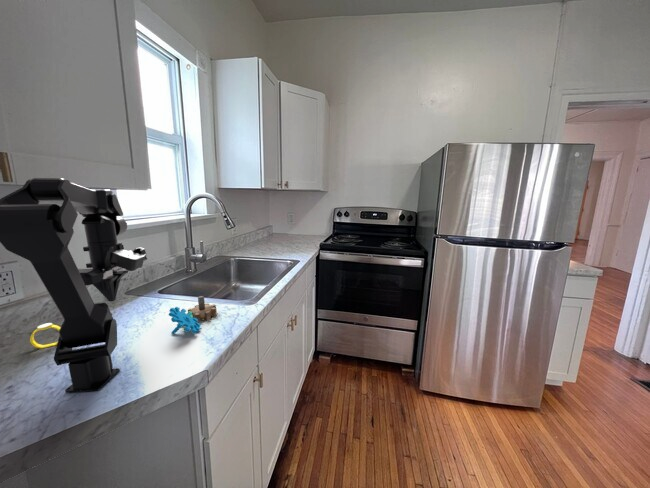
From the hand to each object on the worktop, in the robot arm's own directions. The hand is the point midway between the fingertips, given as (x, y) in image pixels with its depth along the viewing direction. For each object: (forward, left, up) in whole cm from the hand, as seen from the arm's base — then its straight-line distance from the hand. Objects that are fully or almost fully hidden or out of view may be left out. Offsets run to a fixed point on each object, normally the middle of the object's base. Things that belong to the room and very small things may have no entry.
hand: (112, 300), depth 68 cm
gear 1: (+5, -15, -12) cm, 20 cm away
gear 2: (+15, -16, -12) cm, 25 cm away
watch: (0, +18, -12) cm, 22 cm away
